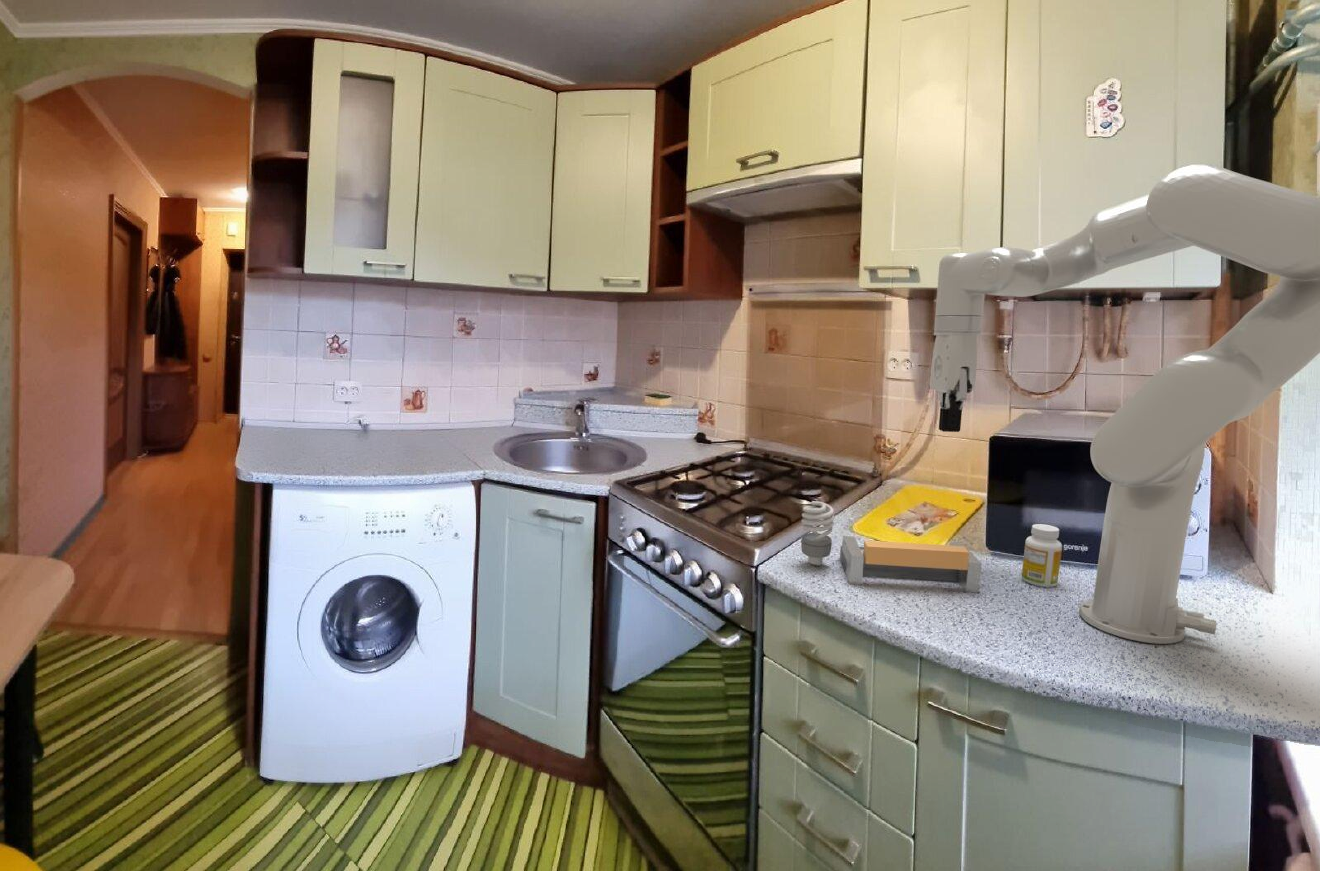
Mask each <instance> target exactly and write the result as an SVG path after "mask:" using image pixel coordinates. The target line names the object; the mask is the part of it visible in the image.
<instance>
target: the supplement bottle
mask: <svg viewBox="0 0 1320 871" xmlns="http://www.w3.org/2000/svg"><path fill="white" fill-rule="evenodd" d="M1030 530H1031V532H1030V533H1031V535H1030V536H1028V537H1027V538H1026V539H1025V544H1024V551H1023V552H1024V553H1023V561H1022V568H1021V579H1022V581H1024V582H1025V583H1027V584H1030V585H1033V586H1036V587H1041V588H1052V587H1055V586H1057V585H1058V582H1059V575H1060V565H1061V560H1062V559H1061V558H1062V552H1063V544H1062V543H1061V541H1059V540H1058V538H1059V535H1060V529H1059V528H1058V527H1057V526H1053V525H1050V524H1044V523H1036V524H1032V526H1031V529H1030Z"/></svg>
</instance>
